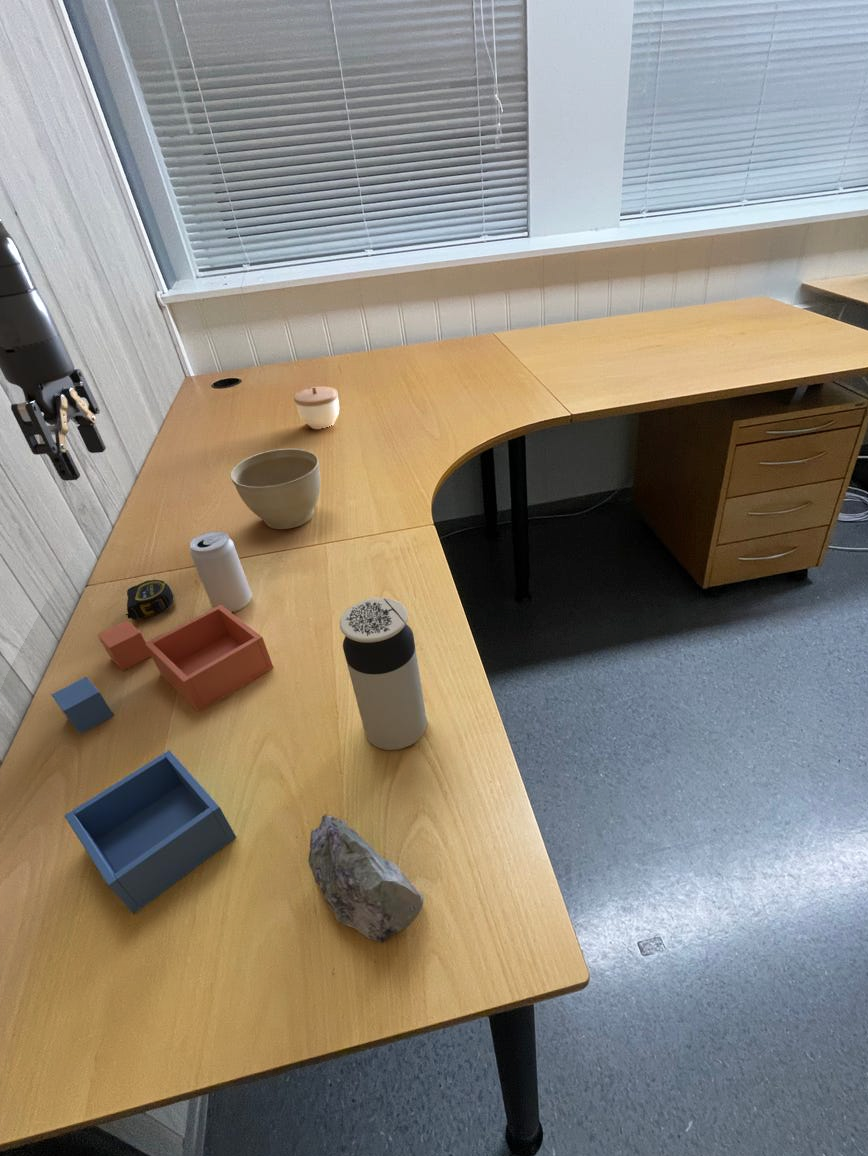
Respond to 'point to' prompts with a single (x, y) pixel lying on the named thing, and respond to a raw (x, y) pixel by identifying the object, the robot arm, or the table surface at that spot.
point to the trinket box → (318, 406)
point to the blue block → (83, 705)
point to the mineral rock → (361, 882)
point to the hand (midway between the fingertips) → (85, 464)
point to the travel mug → (384, 672)
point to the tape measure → (148, 599)
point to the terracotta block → (124, 645)
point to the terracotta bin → (210, 656)
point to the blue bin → (150, 830)
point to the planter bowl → (279, 486)
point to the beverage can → (220, 570)
